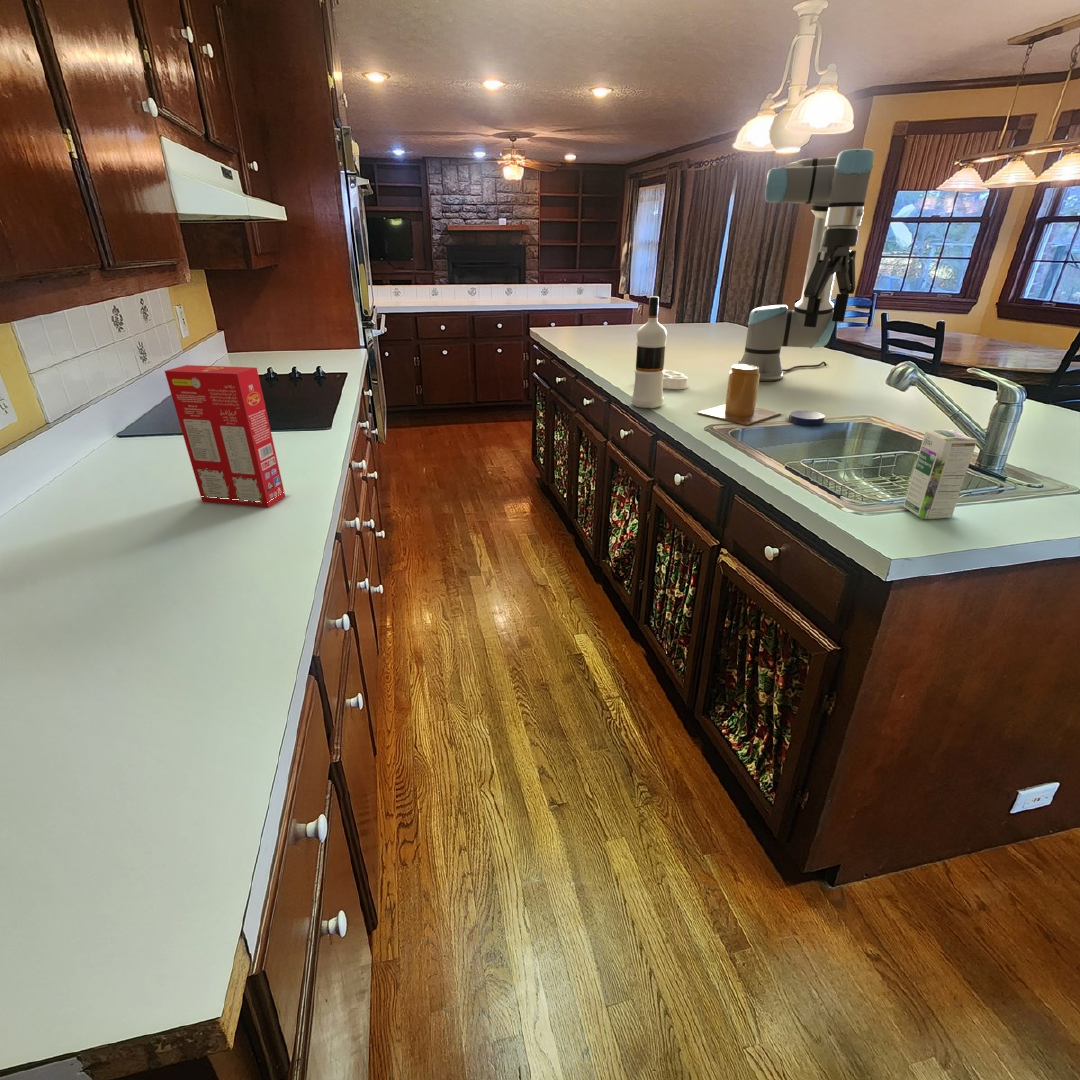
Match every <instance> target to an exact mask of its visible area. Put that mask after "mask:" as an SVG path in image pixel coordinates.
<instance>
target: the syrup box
mask: <svg viewBox="0 0 1080 1080" xmlns="http://www.w3.org/2000/svg"><path fill="white" fill-rule="evenodd" d="M977 442H978V439H977V438H973V437H970V436H968V435H965V434H963V433H960V432H958V431H957V430H952V429H931V430H926V431H925V432H924V435H923V438H922V441H921V445H920V448H919V451H918V455H917V459H916V462H915V465H914V469H913V473H912V475H911V479H910V483H909V487H908V490H907V493H906V496H905V500H904V503H903V508H904V509H906V510H908V511H909V512H911V513H912V514H914V515H915V516H917V517H919V519H921V520H935V519H950V518H952V517H953V515H954V511H955V508H956V506H957V502H958V500H959V497H960V494H961V491H962V488H963V485H964V482H965V479H966V476H967V472H968V471H969V470H968V469H969V467H970V464H971V461H972V458H973V454H974V453H975V449H976V446H977Z"/></svg>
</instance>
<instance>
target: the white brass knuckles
mask: <svg viewBox="0 0 1080 1080" xmlns="http://www.w3.org/2000/svg"><path fill="white" fill-rule="evenodd" d="M663 370H664V374H663V389H671V390H686V389H687V388H688V381H689V377H688V376H686V375H685V374H684V373H682V372H678V371H675V370H670V369H669V370H668V369H665V368H664V369H663Z"/></svg>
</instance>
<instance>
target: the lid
mask: <svg viewBox="0 0 1080 1080" xmlns="http://www.w3.org/2000/svg"><path fill="white" fill-rule="evenodd" d="M825 417H826V416H825V414H823V413H820V412H818V411H812V410H794V411H791V412H789V416H788V422H790V423H792V424H795V425H799V426H806V427H807V426H808V427H816V426H822V425H823V424H824V420H825Z"/></svg>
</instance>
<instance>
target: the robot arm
mask: <svg viewBox="0 0 1080 1080" xmlns="http://www.w3.org/2000/svg"><path fill="white" fill-rule="evenodd" d="M874 157H875V152H874V150H872V149H871V148H853V149H846V150H845V149H844V150H842V151H840V152H839V153H838V154H837V156H831V157H817V158H815V157H814V158H813V157H812V158H803V159H799V160H796V161H791V162H789V163H787V164H784V165H782V166H779V167H773V168H771V169H769V170H768V172H767V176H766V182H765V192H764V201H765V202H766V203H770V204H773V203H775V204H783V203H785V204H787V203H790V204H798V205H811V209H810V211H811V212H812V214H813V215H814V223H813V229H812V235H811V240H810V247H809V252H808V256H807V262H806V269H805V275H804V281H803V286H802V291H801V297H800V300H798V301H797V302H795V304H794V309H789V307H788V305H787V304H774V305H765V306H764V305H763V306H759V307H756V308H754V309H752V310H751V311H750V313H749V317H748V322H747V332H746V339H745V346H744V352H743V355H742V357H741V360H738V361H737V365H738V364H748V365H755V366H758V367H759V372H760V378H759V382H772V381H773V382H774V381H778V380H779V381H780V380H781V379H782V377H783V372H790V371H792V370H794V369H800V368H818V367H821V366H822V365H824V366H827V362H825V361H821V362H820V363H819V364H811V365H810V364H808V365H807V364H805V365H795V366H792V367H790V368H787V369H786V368H785V369H784V368H783V365H782V359H781V349H782V347H787V348H809V349H814V348H816V349H817V348H818V349H819V348H820V349H821V348H824V347H825V346H827V345H828V343H829V341H830V339H831V336H832V334H833V331H834V328H835V325H836V323H837V322H838V323H844V322H845V316H846V311H847V308H848V307H847V306H848V301H849V297H850V295H853V294H855V290H856V257H857V256H856V255H857V250H855V249H854V250H853V249H852V250H850V249H851V248H852V247H853V248H854V247H856V246H857V244H858V241H859V233H860V230H859V229H858V227H860V226H861V224H862V223H861V222H862V218H863V216H864V215H865V212H864V208H865V203H866V197H867V192H868V188H869V183H870V180H871V179H870V177H871V174H872V170H873V169H874V168H873V167H874ZM835 277H836V283H837V287H838V292H839V293H836V296H835V297H836V298H835V302H834V303H833V302H832V301H831V296H832V290H833V286H834V282H835V281H834V280H835Z"/></svg>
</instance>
